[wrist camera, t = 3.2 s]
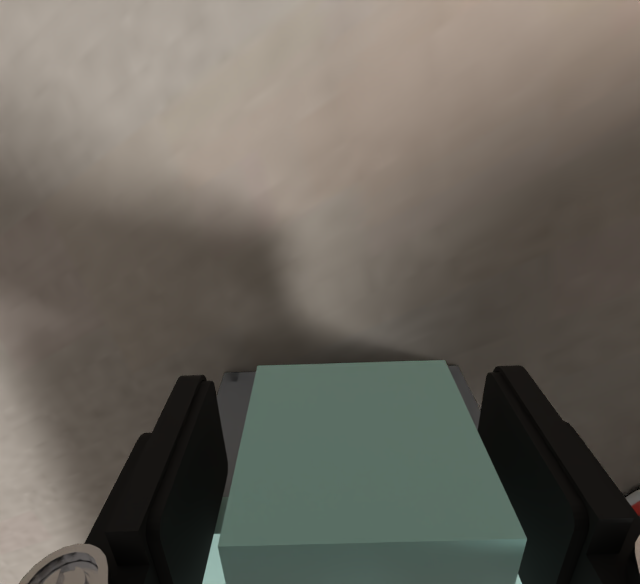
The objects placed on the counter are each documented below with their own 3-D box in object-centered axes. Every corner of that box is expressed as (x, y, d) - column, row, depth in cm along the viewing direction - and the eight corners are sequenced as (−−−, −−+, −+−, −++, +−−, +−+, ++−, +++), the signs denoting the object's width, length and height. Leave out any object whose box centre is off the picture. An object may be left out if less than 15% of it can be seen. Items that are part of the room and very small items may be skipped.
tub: (224, 372, 17) (178, 511, 11) (458, 365, 16) (526, 502, 11) (259, 589, 23) (240, 748, 17) (430, 585, 22) (465, 744, 17)
